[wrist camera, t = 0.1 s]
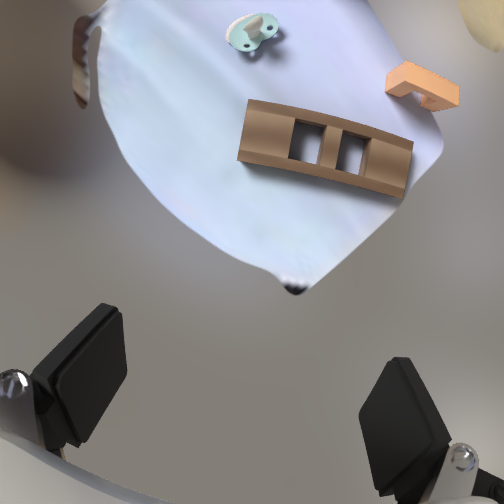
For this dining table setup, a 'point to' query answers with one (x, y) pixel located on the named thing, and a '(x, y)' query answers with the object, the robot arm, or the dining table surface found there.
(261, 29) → the pacifier
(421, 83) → the clip
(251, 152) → the rail
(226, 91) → the dining table surface
